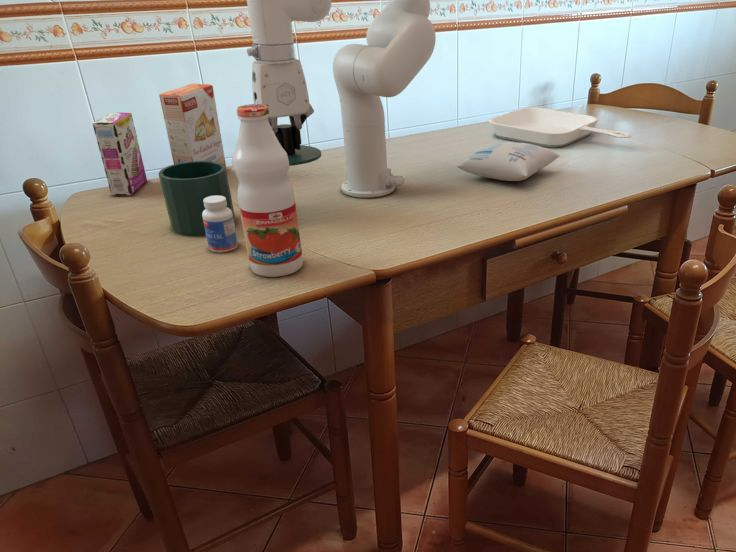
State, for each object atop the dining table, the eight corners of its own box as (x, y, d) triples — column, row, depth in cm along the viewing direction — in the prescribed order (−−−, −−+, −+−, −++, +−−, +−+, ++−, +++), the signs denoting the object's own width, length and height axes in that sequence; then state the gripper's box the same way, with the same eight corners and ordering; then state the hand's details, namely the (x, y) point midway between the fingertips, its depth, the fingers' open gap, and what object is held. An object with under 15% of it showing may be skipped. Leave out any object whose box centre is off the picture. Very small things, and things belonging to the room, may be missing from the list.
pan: (527, 120, 218) (528, 105, 216) (648, 140, 197) (650, 125, 195) (481, 136, 200) (481, 121, 197) (609, 161, 179) (611, 144, 176)
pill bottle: (202, 250, 126) (192, 201, 121) (221, 240, 131) (211, 192, 125) (226, 255, 125) (216, 205, 120) (244, 244, 129) (235, 196, 124)
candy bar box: (133, 196, 152) (114, 123, 143) (111, 196, 152) (90, 123, 143) (149, 181, 162) (132, 111, 153) (128, 181, 161) (109, 111, 152)
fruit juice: (297, 253, 126) (276, 98, 111) (308, 272, 118) (287, 110, 104) (246, 261, 122) (217, 103, 108) (255, 282, 115) (225, 115, 100)
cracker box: (199, 186, 158) (180, 94, 147) (177, 184, 159) (156, 93, 148) (229, 169, 170) (213, 83, 159) (207, 168, 171) (190, 82, 160)
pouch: (495, 131, 174) (456, 145, 159) (561, 143, 167) (528, 159, 152) (493, 161, 179) (455, 178, 163) (558, 174, 171) (524, 193, 156)
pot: (245, 216, 142) (236, 163, 136) (215, 238, 131) (204, 181, 125) (193, 212, 144) (181, 159, 138) (159, 233, 134) (145, 177, 127)
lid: (331, 152, 142) (328, 120, 138) (305, 171, 130) (301, 136, 127) (272, 148, 144) (268, 116, 140) (242, 166, 133) (236, 132, 129)
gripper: (240, 59, 120) (256, 160, 129) (322, 52, 128) (331, 147, 138) (225, 54, 125) (241, 152, 134) (305, 47, 133) (314, 140, 143)
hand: (287, 149), depth 136 cm, fingers closed on lid, 3 cm apart
